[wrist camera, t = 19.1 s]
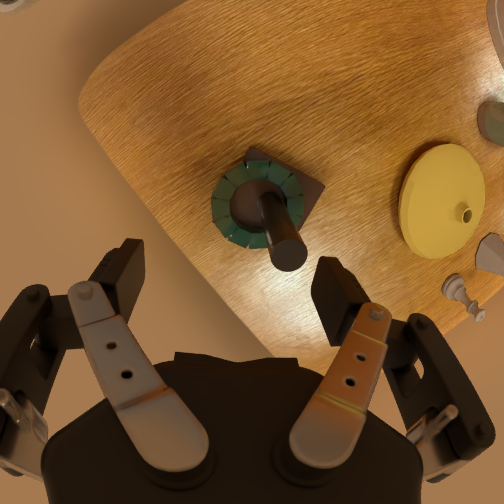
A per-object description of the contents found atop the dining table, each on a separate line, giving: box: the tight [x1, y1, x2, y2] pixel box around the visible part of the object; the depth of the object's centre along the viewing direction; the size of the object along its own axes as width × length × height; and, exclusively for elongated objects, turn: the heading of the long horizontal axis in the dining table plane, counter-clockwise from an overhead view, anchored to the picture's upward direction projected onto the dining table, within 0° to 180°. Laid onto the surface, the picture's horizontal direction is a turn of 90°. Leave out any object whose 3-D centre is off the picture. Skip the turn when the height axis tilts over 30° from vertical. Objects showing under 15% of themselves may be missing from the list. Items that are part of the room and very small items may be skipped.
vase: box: [398, 144, 485, 259], centre depth 29 cm, size 16×16×7 cm
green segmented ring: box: [211, 158, 305, 249], centre depth 29 cm, size 9×9×2 cm
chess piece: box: [442, 274, 485, 322], centre depth 35 cm, size 4×4×10 cm
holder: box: [213, 146, 325, 272], centre depth 25 cm, size 9×9×13 cm
